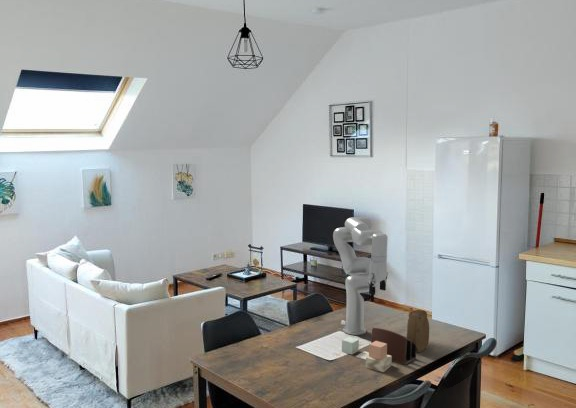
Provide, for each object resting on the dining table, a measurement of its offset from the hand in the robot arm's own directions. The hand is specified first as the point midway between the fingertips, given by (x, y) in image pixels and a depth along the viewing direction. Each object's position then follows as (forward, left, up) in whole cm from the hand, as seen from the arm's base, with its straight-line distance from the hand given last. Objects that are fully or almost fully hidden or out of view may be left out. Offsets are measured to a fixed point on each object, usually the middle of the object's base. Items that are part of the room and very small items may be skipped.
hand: (377, 292), depth 268 cm
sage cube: (-8, -11, -30) cm, 33 cm away
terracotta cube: (+11, -17, -25) cm, 32 cm away
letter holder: (+11, -1, -30) cm, 32 cm away
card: (+2, -11, -30) cm, 32 cm away
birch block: (+12, -17, -30) cm, 36 cm away
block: (+16, +14, -30) cm, 37 cm away
